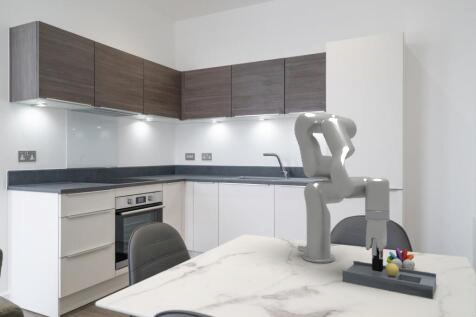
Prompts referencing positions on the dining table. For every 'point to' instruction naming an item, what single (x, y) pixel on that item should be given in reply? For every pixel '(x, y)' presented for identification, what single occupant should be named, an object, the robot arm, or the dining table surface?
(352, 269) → the tray
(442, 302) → the dining table surface
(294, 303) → the dining table surface
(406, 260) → the rainbow white-lobed toy
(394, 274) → the ball
